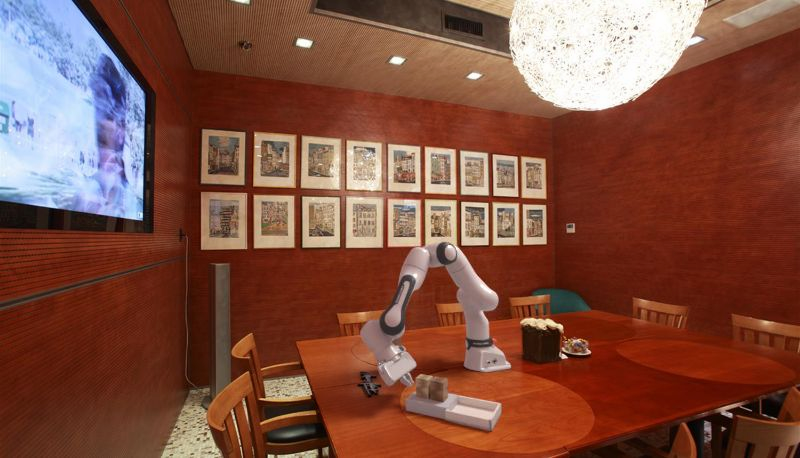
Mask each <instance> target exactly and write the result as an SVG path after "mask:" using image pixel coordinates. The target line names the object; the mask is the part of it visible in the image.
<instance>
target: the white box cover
mask: <svg viewBox="0 0 800 458" xmlns="http://www.w3.org/2000/svg"><path fill="white" fill-rule="evenodd" d="M458 396H459V394H456V393H449V392H448V398H447V399H446V400H445V401H444V402H439V401H434V400H431V397H430V398H429V399H424V398H419V397H416V390H415V391H414V392H412V394H410V395H409V396H408V397H407V398H406V399H405V411H407V412H410V413H411V412H412V413H416V414H421V415H425V416H429V417H434V418H438V419H442V420H446V419H445V410H450V411H452V410H453V409H454V408H455V407H456V406H457V404H458Z"/></svg>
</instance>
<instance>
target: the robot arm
mask: <svg viewBox="0 0 800 458" xmlns="http://www.w3.org/2000/svg"><path fill="white" fill-rule="evenodd" d="M444 266H445V270H446V271H447V272H448V274H449V276H450V277H451V279H452V281H453V283H454V284H455V285H456V286H457V288H458V289H457V291H456V300H457V301H458V302H459V305H460V306H461V309H462V313H463V315H464V318H465V331H466V334H465V335H466V336H465V342H464V343H465V348H466V351H465V358H464V363H463V366H464V367H465V368H466V369H468V370H471V371H475V372H476V371H477V372H481V373H490V372H498V371H503V370H504V371H505V370H509V369H511V368H512V365H511V363H510V362H509V361H508V360H506V355H505V354H504V352H503V351H502V350H501V349H499V347H497V346H496V345H495V344H496V343H497V339H495V338H492V337H491V336H490V323H489V320H488V318H487V317H486V315H485V314H484V312H491V311H494V310H495V309H496V308H497V306H498V305H499V295H498V294H497V293H496V291H494V290H493V289H491V288H490V287H489V286H488V285H487V284H486V283H485V282H484V281H483V280H482V279H481V278H480V277H479V276H478V275H477V273H476V271H475V270H474V268H473V267H472V265H471V263H470V261H469V260H468V258H467V257H466V255H465V254H464V253H463V251H462V250H461V249H460V248H459V247H458V246H457V245H455V244H453V243H451V242H448V241H442V242H435V243H430V244H426V245H424V246H417V247H416V246H415V247H413V248H411V250H410V251H409V252H408V254H407V256H406V258H405V259H404V262H403V264H402V266H401V270H400V273H399V278H398V284H397V288H396V291H395V293H394V295H393V298H392V300H391V302H390V305H389V306H388V307H387V308H386V309H385V310H384V311H383V312H382V313H381V315H380V317H379V318H378V319H369V320H368V321H366V322H365V323H364V325H362V327H361V329H360V331H359V333H360V335H359V336H360V338H361V339H362V341H363V344H365V346H366V347H367V349H368V350H369V351H370V352H371V353H373V355H374V358H375V360H376V361H377V362H378V363H377V364H376V365H377V366H376V368H377V370H378V373H379V375H380V377H381V379H382V380H383V382H384V383H385V384H386V386H388V387H391V386H392V385H394V384H396V383H397V382H398V381H400V382H401V383H402V384H404V385H405V386H406V388H408V389H409V388H411V387H413V386H414V384H415V381H414V380H413V377H412V375H411V372H412V371H413V370H414V369H415V368H416V367H417V362H416V361H415V359H414V358H413V357H412V355H411V354H410V353H409V352H407V351H406V350H407V348H406V347H405V346H403V345H402V346H396V345H394V344H393V343H392V341H394V340H396V339H398V338H400V337H401V338H402V336H403V335H404V333H405V329H406V309H407V307H408V305H409V302H410V299H411V296H412V294H413V293H414V291H417V290H419V289H420V288H421V286H422V285H423V283H424V281H425V278H426V275H427V274H428V270H429V268H438V267H444Z"/></svg>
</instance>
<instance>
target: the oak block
mask: <svg viewBox="0 0 800 458" xmlns="http://www.w3.org/2000/svg"><path fill="white" fill-rule="evenodd" d="M433 378H434V376H433V375H428V374H422V373H421V374H419V375H418V376H416V377H415V391H416V397H419V398H424V399H429V398H430V397H431V383H430V381H431V380H432V379H433Z"/></svg>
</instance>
